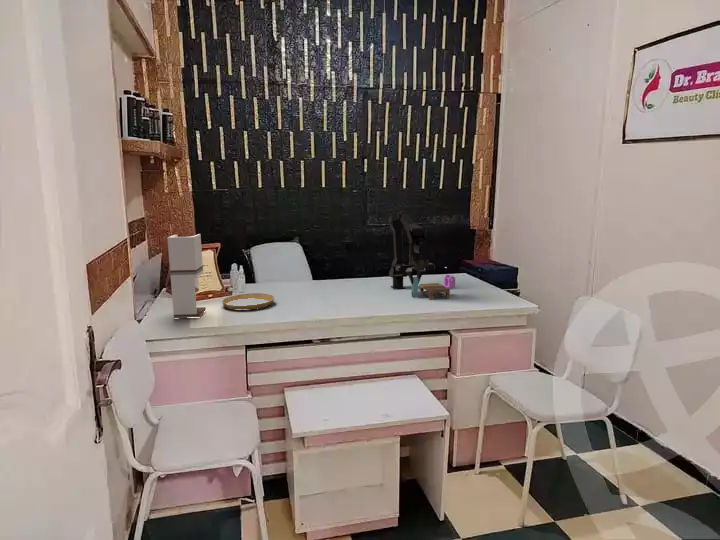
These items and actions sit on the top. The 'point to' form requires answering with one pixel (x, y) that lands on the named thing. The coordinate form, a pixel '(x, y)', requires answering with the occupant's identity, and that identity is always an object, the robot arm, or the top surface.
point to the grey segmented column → (185, 274)
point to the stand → (435, 289)
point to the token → (442, 293)
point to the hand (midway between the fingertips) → (414, 284)
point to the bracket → (449, 282)
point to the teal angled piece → (420, 293)
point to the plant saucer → (246, 296)
